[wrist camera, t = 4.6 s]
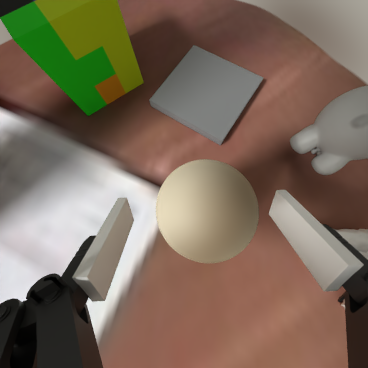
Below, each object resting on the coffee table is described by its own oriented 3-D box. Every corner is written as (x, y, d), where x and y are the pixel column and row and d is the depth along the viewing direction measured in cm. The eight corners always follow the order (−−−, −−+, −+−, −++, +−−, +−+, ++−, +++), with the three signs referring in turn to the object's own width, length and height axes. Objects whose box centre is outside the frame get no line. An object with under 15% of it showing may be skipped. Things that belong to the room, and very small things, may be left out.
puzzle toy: (112, 44, 26) (66, -61, 16) (143, 82, 24) (113, -11, 14) (59, 73, 25) (-25, -21, 15) (88, 116, 23) (13, 39, 13)
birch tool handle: (167, 220, 19) (135, 222, 7) (188, 187, 20) (191, 142, 8) (201, 243, 18) (226, 287, 7) (221, 208, 19) (276, 192, 7)
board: (151, 106, 23) (149, 100, 22) (193, 53, 25) (193, 44, 24) (220, 145, 21) (222, 141, 20) (259, 84, 23) (263, 77, 22)
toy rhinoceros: (346, 152, 23) (445, 105, 16) (319, 186, 18) (453, 138, 10) (313, 118, 25) (391, 60, 17) (278, 140, 19) (371, 67, 12)
